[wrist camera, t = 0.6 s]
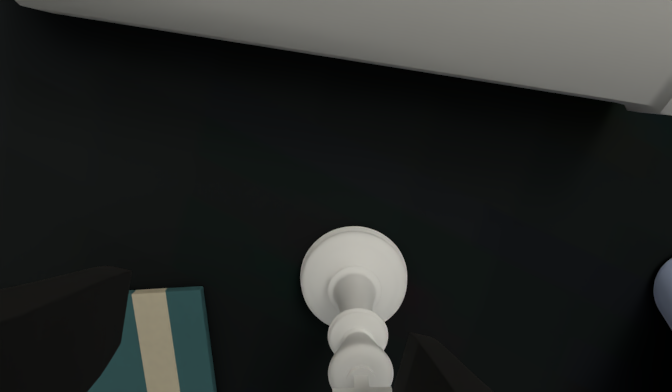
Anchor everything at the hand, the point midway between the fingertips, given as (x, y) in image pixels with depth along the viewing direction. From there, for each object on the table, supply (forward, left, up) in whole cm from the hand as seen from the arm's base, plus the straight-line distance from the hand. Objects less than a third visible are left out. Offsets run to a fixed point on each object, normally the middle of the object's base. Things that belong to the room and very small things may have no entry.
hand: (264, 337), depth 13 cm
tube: (+9, -2, -10) cm, 14 cm away
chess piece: (-3, -2, -10) cm, 11 cm away
